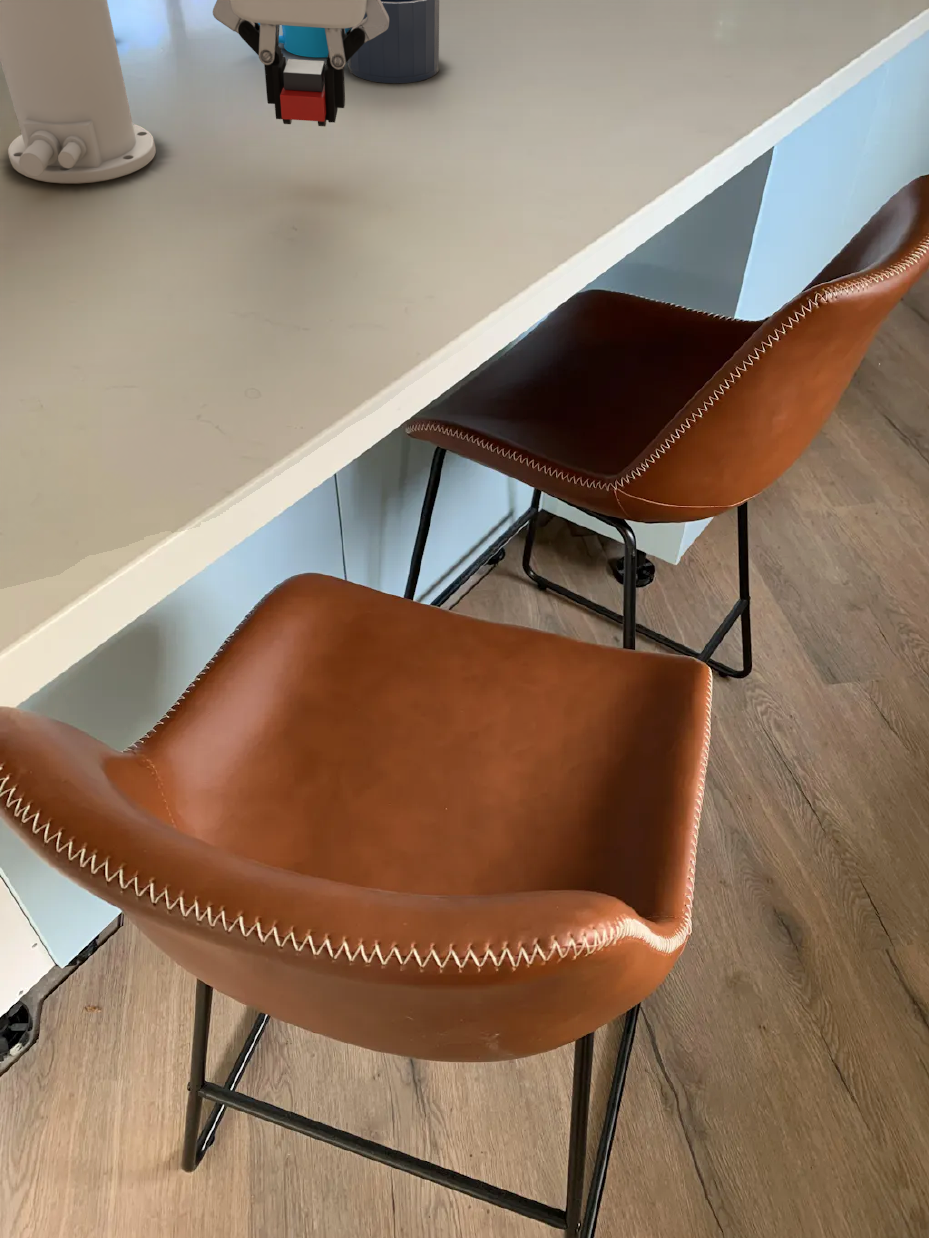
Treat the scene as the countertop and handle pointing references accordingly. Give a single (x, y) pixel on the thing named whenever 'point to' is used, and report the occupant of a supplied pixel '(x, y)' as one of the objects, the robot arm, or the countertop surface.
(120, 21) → the countertop surface
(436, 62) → the cup
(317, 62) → the car
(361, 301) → the countertop surface
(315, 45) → the mug
